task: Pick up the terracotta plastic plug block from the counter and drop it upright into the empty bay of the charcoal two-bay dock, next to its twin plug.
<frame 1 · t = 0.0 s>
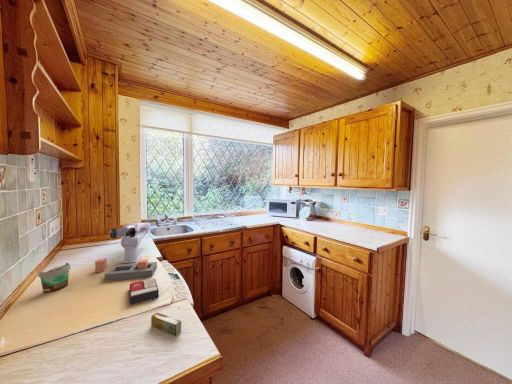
hand: (118, 234, 116), 22 cm above the counter, tool horizontal, fingers open, 7 cm apart
medication box: (166, 329, 75), on the counter
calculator: (143, 294, 98), on the counter
food container: (59, 288, 102), on the counter
plug: (101, 270, 122), on the counter
dock: (133, 273, 118), on the counter
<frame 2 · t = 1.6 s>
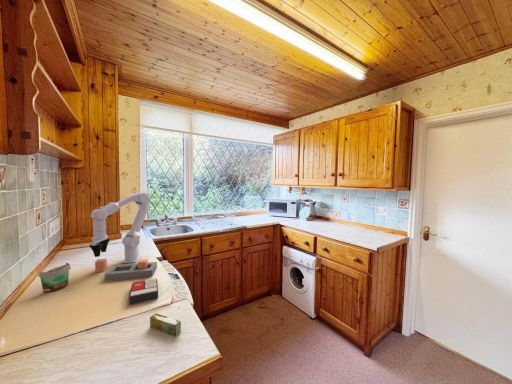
hand: (100, 254, 121), 9 cm above the counter, tool pointing down, fingers open, 7 cm apart
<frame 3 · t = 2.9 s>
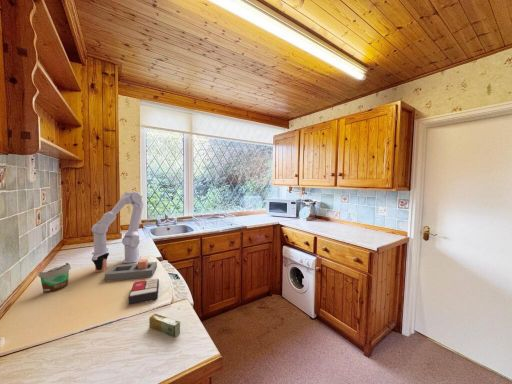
hand: (101, 267, 122), 1 cm above the counter, tool pointing down, fingers closed on plug, 4 cm apart
plug: (101, 270, 122), on the counter, touching gripper
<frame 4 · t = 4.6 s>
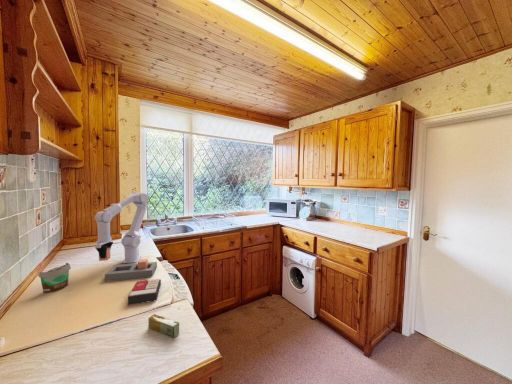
hand: (104, 256, 120), 8 cm above the counter, tool pointing down, fingers closed on plug, 4 cm apart
plug: (104, 259, 120), point 7 cm above the counter, touching gripper
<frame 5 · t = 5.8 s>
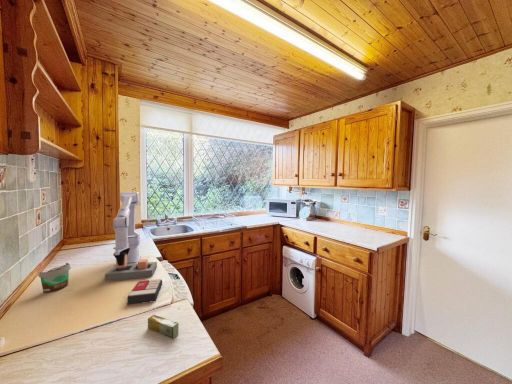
hand: (122, 263, 116), 6 cm above the counter, tool pointing down, fingers closed on plug, 4 cm apart
plug: (122, 266, 116), point 5 cm above the counter, touching gripper
when the fingers open (4 cm above the counter, at t = 6.5 s): plug drops 2 cm, resting on dock.
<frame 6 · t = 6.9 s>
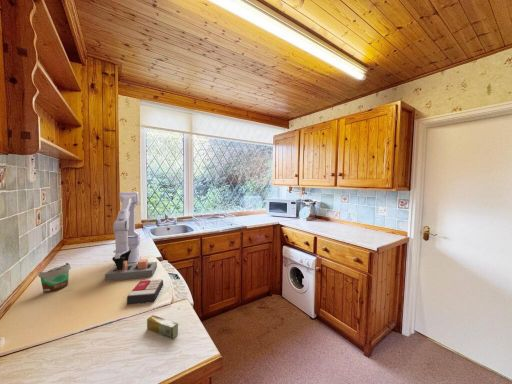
hand: (122, 266, 116), 4 cm above the counter, tool pointing down, fingers open, 7 cm apart
plug: (122, 273, 116), point 1 cm above the counter, touching dock
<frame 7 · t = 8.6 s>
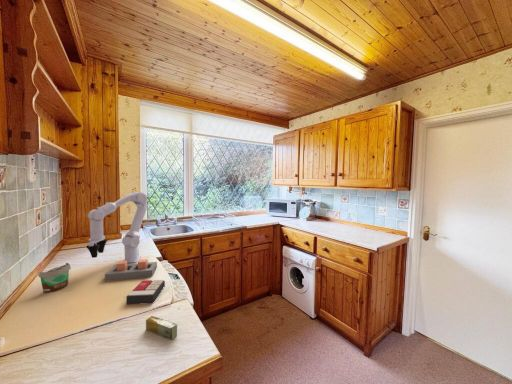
hand: (97, 254, 120), 9 cm above the counter, tool pointing down, fingers open, 7 cm apart
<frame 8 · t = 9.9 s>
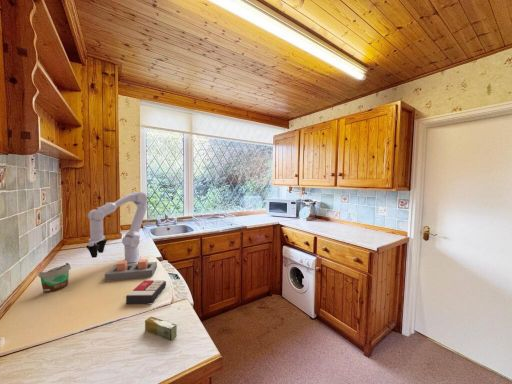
hand: (97, 254, 120), 9 cm above the counter, tool pointing down, fingers open, 7 cm apart
at the end: plug 0.2 cm from the target spot on the dock, point 1.0 cm above the dock's base; plug tilted 0°; the gripper is holding nothing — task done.
